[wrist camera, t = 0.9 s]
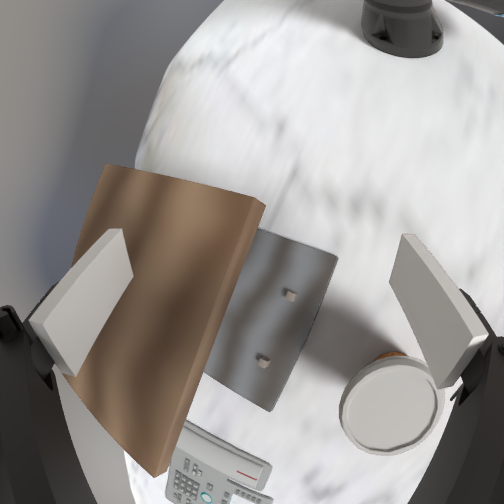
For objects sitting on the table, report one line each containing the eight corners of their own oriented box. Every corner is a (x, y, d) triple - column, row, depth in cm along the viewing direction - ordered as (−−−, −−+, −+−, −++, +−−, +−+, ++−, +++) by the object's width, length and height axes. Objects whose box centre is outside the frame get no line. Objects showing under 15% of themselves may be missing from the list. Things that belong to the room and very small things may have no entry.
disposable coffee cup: (346, 406, 30) (324, 450, 20) (362, 333, 31) (350, 351, 21) (417, 415, 26) (425, 464, 15) (436, 342, 27) (460, 363, 16)
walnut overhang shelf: (338, 257, 34) (270, 201, 15) (272, 409, 34) (163, 485, 15) (223, 218, 42) (105, 163, 23) (176, 349, 43) (55, 363, 24)
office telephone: (172, 417, 39) (284, 473, 30) (182, 414, 41) (290, 464, 32) (161, 500, 37) (247, 548, 28) (169, 495, 40) (254, 541, 30)
